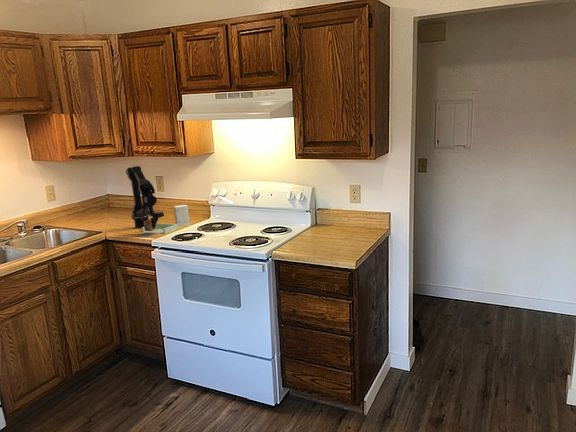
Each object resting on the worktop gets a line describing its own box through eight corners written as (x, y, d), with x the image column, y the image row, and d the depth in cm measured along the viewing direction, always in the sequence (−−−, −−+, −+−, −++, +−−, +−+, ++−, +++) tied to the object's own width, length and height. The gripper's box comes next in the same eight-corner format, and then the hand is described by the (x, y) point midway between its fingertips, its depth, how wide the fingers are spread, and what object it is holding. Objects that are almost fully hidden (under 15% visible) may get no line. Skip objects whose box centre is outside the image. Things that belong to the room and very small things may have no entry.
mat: (135, 236, 283) (135, 236, 283) (145, 233, 291) (145, 232, 291) (148, 237, 279) (148, 237, 279) (158, 234, 287) (158, 233, 287)
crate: (142, 232, 294) (141, 227, 294) (155, 227, 305) (154, 223, 304) (165, 233, 286) (164, 228, 286) (178, 229, 297) (177, 224, 296)
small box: (187, 223, 312) (185, 204, 309) (189, 225, 306) (187, 205, 304) (175, 225, 309) (173, 206, 306) (177, 227, 303) (175, 207, 300)
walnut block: (144, 230, 287) (143, 221, 285) (150, 228, 291) (149, 219, 290) (151, 231, 285) (150, 221, 283) (156, 229, 289) (155, 219, 288)
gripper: (126, 205, 281) (129, 230, 284) (150, 206, 273) (153, 232, 276) (139, 202, 291) (142, 226, 294) (163, 202, 283) (165, 227, 286)
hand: (150, 228), depth 288 cm, fingers closed on walnut block, 5 cm apart
